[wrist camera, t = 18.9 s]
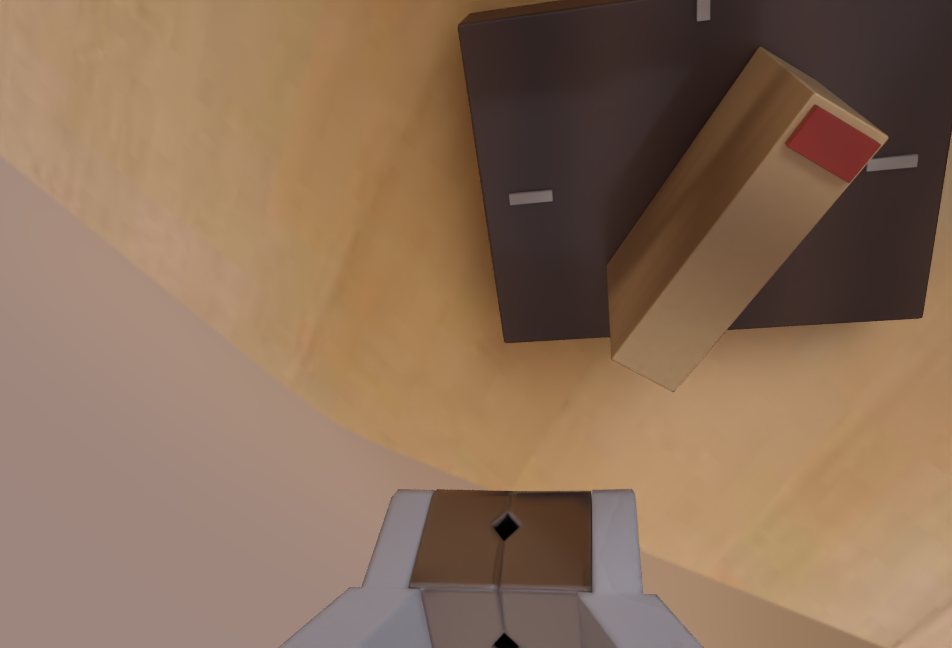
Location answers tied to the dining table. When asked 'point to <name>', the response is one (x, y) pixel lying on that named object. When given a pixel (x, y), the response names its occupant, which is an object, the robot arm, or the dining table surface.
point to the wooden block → (731, 215)
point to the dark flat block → (675, 128)
